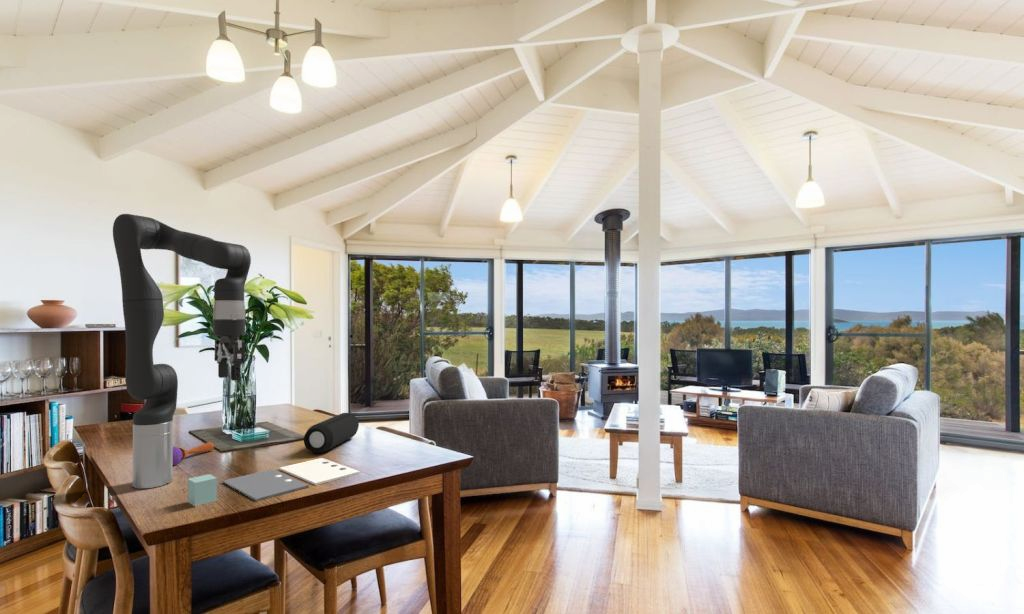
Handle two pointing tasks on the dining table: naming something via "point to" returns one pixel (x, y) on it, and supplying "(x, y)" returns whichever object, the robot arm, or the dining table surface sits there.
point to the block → (202, 489)
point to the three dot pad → (319, 471)
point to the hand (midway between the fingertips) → (229, 378)
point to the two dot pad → (265, 484)
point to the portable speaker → (330, 432)
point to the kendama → (190, 451)
